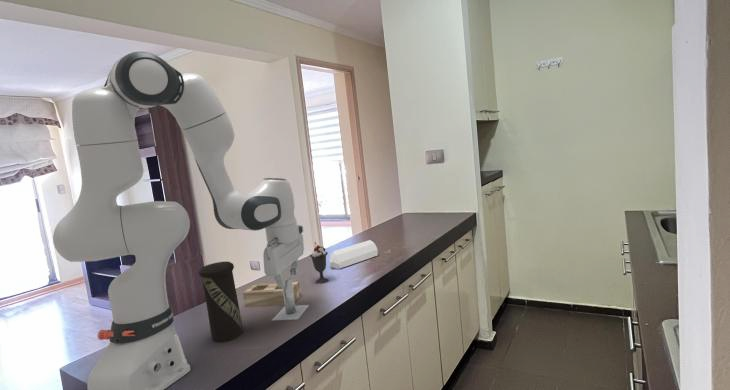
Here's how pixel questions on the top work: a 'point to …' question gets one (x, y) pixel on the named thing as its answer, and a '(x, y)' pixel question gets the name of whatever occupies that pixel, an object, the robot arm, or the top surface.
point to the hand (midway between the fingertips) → (288, 280)
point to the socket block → (268, 294)
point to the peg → (289, 296)
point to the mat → (296, 315)
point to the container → (221, 301)
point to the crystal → (353, 254)
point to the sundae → (319, 262)
